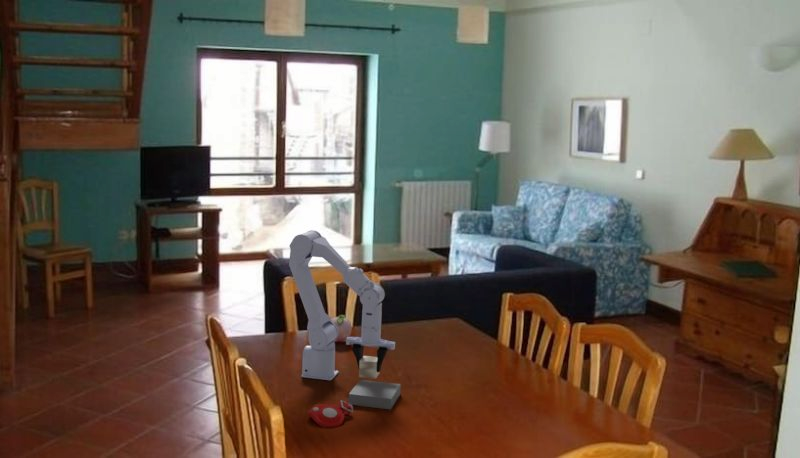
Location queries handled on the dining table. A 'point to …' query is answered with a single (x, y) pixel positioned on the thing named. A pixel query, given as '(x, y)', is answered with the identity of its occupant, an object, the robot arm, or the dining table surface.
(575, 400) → the dining table surface
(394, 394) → the gray base
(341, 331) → the decorative fruit
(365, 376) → the cream cube
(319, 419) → the tracker holder
